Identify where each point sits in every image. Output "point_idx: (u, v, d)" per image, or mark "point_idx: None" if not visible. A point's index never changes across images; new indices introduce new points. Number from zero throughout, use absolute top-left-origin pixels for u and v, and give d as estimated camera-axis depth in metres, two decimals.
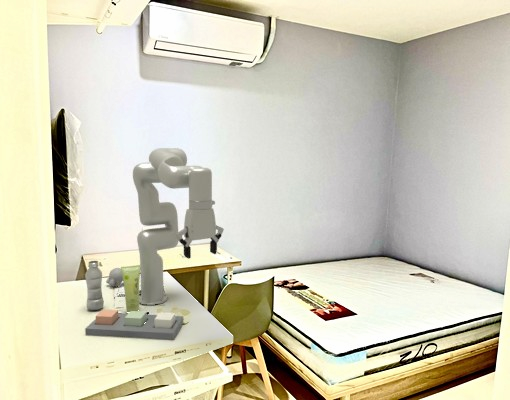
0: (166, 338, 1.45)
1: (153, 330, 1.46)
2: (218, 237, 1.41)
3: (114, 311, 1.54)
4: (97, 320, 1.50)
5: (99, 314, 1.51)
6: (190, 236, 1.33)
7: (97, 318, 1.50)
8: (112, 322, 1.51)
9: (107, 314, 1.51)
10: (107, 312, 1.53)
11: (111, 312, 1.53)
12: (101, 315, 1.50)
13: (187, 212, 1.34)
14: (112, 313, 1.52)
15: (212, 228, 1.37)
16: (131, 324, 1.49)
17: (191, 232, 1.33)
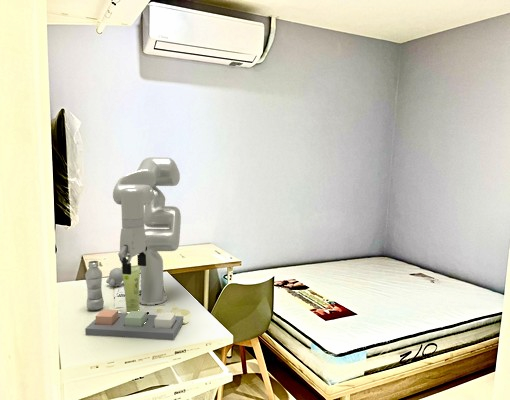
0: (166, 338, 1.45)
1: (153, 330, 1.46)
2: (145, 250, 1.52)
3: (114, 311, 1.54)
4: (97, 320, 1.50)
5: (99, 314, 1.51)
6: (131, 253, 1.41)
7: (97, 318, 1.50)
8: (112, 322, 1.51)
9: (107, 314, 1.51)
10: (107, 312, 1.53)
11: (111, 312, 1.53)
12: (101, 315, 1.50)
13: (125, 230, 1.40)
14: (112, 313, 1.52)
15: (144, 242, 1.48)
16: (131, 324, 1.49)
17: (132, 249, 1.41)
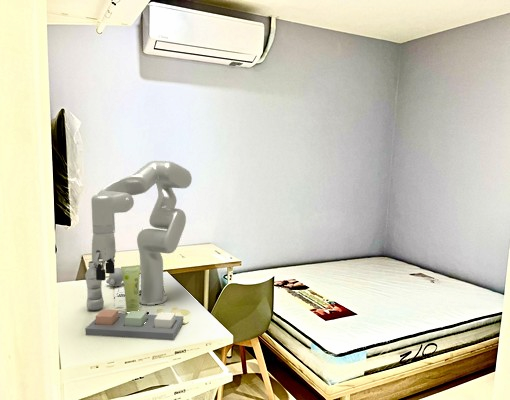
0: (166, 338, 1.45)
1: (153, 330, 1.46)
2: (113, 257, 1.55)
3: (114, 311, 1.54)
4: (97, 320, 1.50)
5: (99, 314, 1.51)
6: (104, 258, 1.45)
7: (97, 318, 1.50)
8: (112, 322, 1.51)
9: (107, 314, 1.51)
10: (107, 312, 1.53)
11: (111, 312, 1.53)
12: (101, 315, 1.50)
13: (97, 237, 1.44)
14: (112, 313, 1.52)
15: (114, 247, 1.52)
16: (131, 324, 1.49)
17: (104, 254, 1.45)
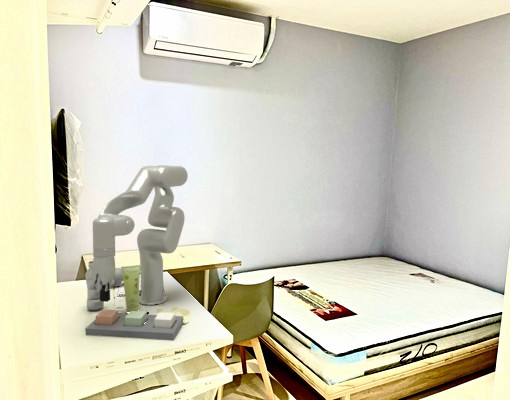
0: (166, 338, 1.45)
1: (153, 330, 1.46)
2: None
3: (114, 311, 1.54)
4: (97, 320, 1.50)
5: (99, 314, 1.51)
6: (103, 281, 1.45)
7: (97, 318, 1.50)
8: (112, 322, 1.51)
9: (107, 314, 1.51)
10: (107, 312, 1.53)
11: (111, 312, 1.53)
12: (101, 315, 1.50)
13: (97, 260, 1.45)
14: (112, 313, 1.52)
15: (114, 270, 1.53)
16: (131, 324, 1.49)
17: (104, 278, 1.46)
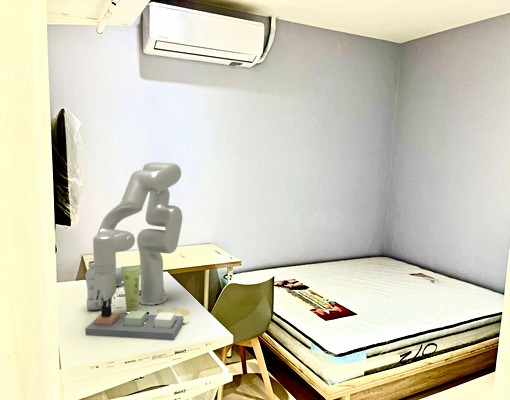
0: (166, 338, 1.45)
1: (153, 330, 1.46)
2: None
3: (114, 314, 1.54)
4: (97, 322, 1.50)
5: (99, 317, 1.51)
6: (105, 298, 1.47)
7: (97, 320, 1.50)
8: None
9: (107, 317, 1.52)
10: None
11: (112, 315, 1.53)
12: (101, 318, 1.50)
13: (98, 276, 1.46)
14: (112, 316, 1.52)
15: (115, 285, 1.54)
16: (131, 324, 1.49)
17: (105, 294, 1.47)
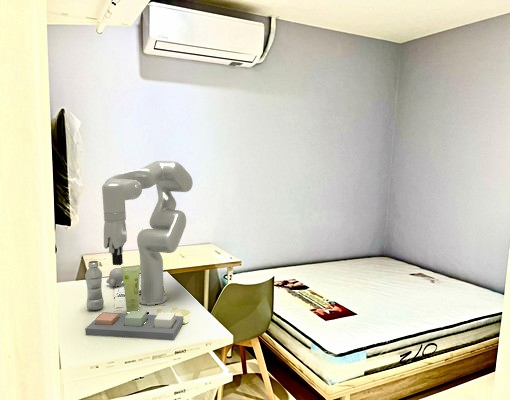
0: (166, 338, 1.45)
1: (153, 330, 1.46)
2: None
3: (114, 315, 1.54)
4: (97, 324, 1.50)
5: (99, 318, 1.52)
6: (115, 245, 1.47)
7: (97, 321, 1.50)
8: None
9: (107, 318, 1.52)
10: (108, 316, 1.53)
11: (112, 316, 1.53)
12: (101, 319, 1.51)
13: (108, 224, 1.45)
14: (112, 317, 1.53)
15: (125, 234, 1.54)
16: (131, 324, 1.49)
17: (116, 241, 1.47)
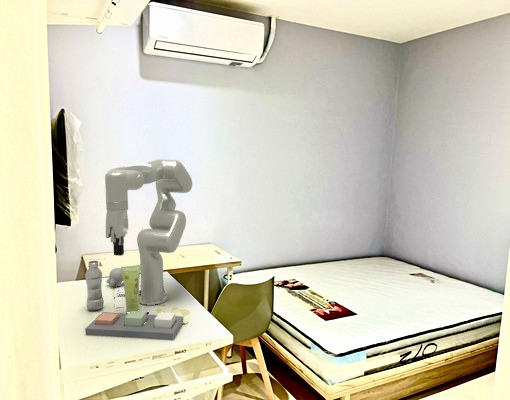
0: (166, 338, 1.45)
1: (153, 330, 1.46)
2: None
3: (114, 315, 1.54)
4: (97, 324, 1.50)
5: (99, 318, 1.52)
6: (117, 234, 1.46)
7: (97, 321, 1.50)
8: None
9: (107, 318, 1.52)
10: (108, 316, 1.53)
11: (112, 316, 1.53)
12: (101, 319, 1.51)
13: (111, 213, 1.45)
14: (112, 317, 1.53)
15: (127, 225, 1.54)
16: (131, 324, 1.49)
17: (118, 231, 1.46)
